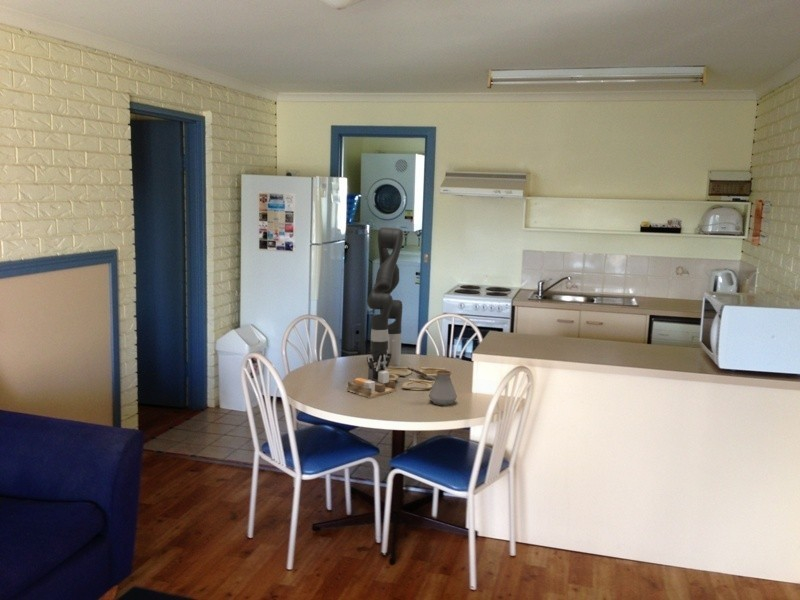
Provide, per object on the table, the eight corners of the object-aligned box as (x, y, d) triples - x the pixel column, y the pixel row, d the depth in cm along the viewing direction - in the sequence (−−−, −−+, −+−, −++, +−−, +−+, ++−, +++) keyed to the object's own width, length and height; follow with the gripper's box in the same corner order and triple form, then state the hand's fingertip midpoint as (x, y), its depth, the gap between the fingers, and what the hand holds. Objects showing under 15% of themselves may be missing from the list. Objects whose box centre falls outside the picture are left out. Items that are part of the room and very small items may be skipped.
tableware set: (389, 368, 338) (389, 360, 338) (447, 374, 329) (448, 366, 329) (363, 386, 305) (364, 377, 305) (427, 394, 296) (427, 385, 296)
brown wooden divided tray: (347, 391, 296) (347, 382, 295) (372, 384, 307) (372, 375, 307) (370, 398, 287) (370, 389, 286) (395, 391, 298) (396, 382, 298)
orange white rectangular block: (353, 389, 296) (353, 379, 295) (359, 387, 298) (359, 377, 298) (369, 393, 290) (369, 383, 289) (374, 392, 293) (375, 381, 292)
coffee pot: (453, 398, 290) (455, 363, 288) (459, 406, 279) (460, 370, 276) (403, 398, 287) (404, 363, 285) (406, 407, 276) (407, 370, 274)
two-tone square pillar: (368, 378, 301) (368, 368, 301) (373, 377, 304) (374, 367, 303) (383, 383, 296) (383, 373, 295) (388, 382, 298) (389, 372, 297)
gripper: (384, 335, 305) (383, 373, 307) (361, 340, 294) (361, 379, 297) (397, 338, 300) (396, 376, 302) (374, 342, 289) (373, 382, 292)
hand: (378, 377), depth 299 cm, fingers closed on two-tone square pillar, 3 cm apart
